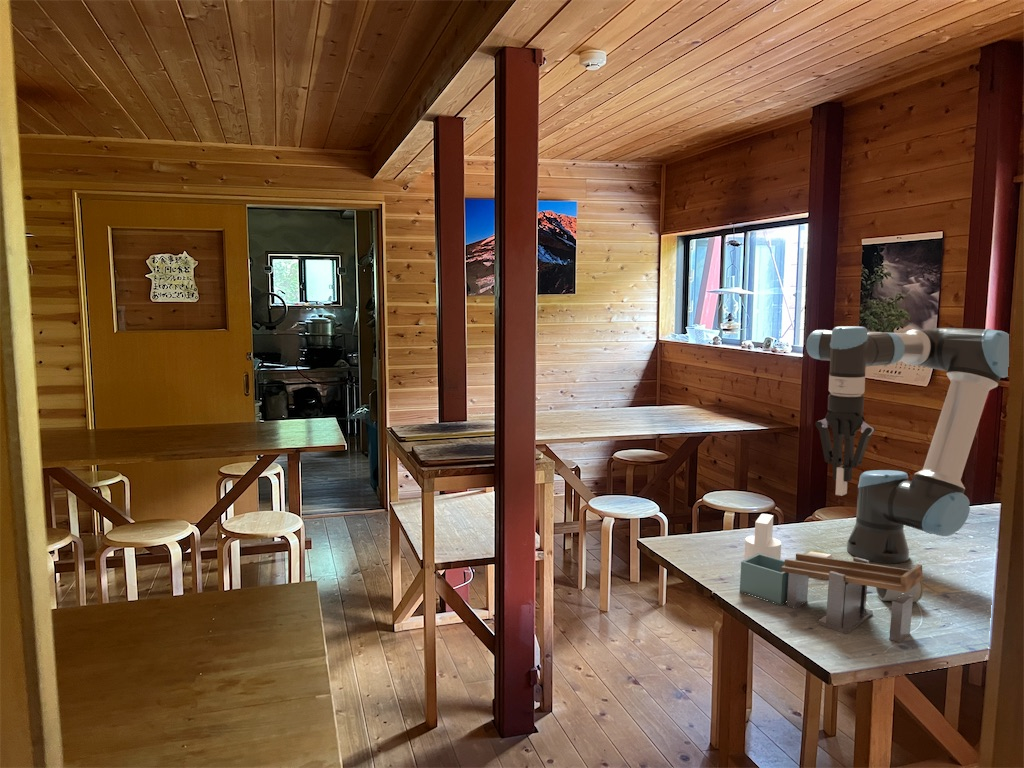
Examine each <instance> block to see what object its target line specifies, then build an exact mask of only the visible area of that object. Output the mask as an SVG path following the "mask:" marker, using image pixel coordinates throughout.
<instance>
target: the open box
mask: <svg viewBox="0 0 1024 768" xmlns="http://www.w3.org/2000/svg"><path fill="white" fill-rule="evenodd" d="M740 562H741V563H740V576H739V578H740V579H739V593H741V592H743V593H742V594H744V593H746V594H745V595H747V594H750V595H753V596H756V597H759V598H762V599H765V600H768V601H770V602H769V603H771V602H774V603H776V604H775V605H777V604H779V605H778V606H780V605H781V606H782V604H783V603H784V604H786V603H787V602H786V601H787V592H788V577H789V573H788V572H782V571H781V567H782V566H784V565H785V560H783V559H781V558H780V559H776V558H773V557H769V556H766V555H762V554H759V553H758V554H756V555H754V556H752V557H750V558H748V559H746V560H741V561H740ZM750 595H749V596H750ZM753 596H752V597H753ZM756 597H755V598H756ZM759 598H758V599H759ZM762 599H761V600H762ZM765 600H764V601H765ZM768 601H767V602H768ZM785 602H786V603H785ZM774 603H773V604H774ZM784 604H783V605H784Z"/></svg>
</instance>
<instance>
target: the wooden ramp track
mask: <svg viewBox="0 0 1024 768" xmlns="http://www.w3.org/2000/svg"><path fill="white" fill-rule="evenodd" d="M832 557H833V555H832V554H830V553H828V554H825V553H818V552H809V553H807V554H803V553H798V552H797V553H795V559H789V558H785V559H784V561H785V565H784V566H782V567H781V571H782V572H788V573H794V574H800V575H806V576H809V577H812V578H819V579H825V580H829V572H830V571H833V572H837V573H840V574H844V575H846V578H845V582H848V583H854V584H860V585H866V586H867V587H873V588H876V587H878V588H884V589H890V590H896V591H902V592H907V591H908V590H909V589H911V588H912V587H913V586H915V585H916V584H917V583H918V582H920V581H921V580H922V581H923V580H924V576H923V575H924V574H923V565H922V564H916V565H915V566H913V567H912V568H911V569H907V568H899V567H893V566H889V565H888V566H887V565H882V564H881V565H879V564H873V563H869V564H867V563H860V562H854V561H853V560H852V561H851V560H846V559H838V558H834V557H833V558H834V559H833V558H832Z"/></svg>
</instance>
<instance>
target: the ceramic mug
mask: <svg viewBox="0 0 1024 768" xmlns="http://www.w3.org/2000/svg"><path fill="white" fill-rule="evenodd" d="M923 585H924V584H923V579H922V580H921V581H920V582H918V583H917V584H916V585H915V586H913V587H912V588H911V589H909V590H908V591H907V592H902V591H896V590H890V589H884V588H878V587H875V589H876V594H877V597H878V598H879V600H880V601H884V602H885V601H886V602H892V601H893V600H894V599H895V598H897V597H898V596H899V595H901V594H902V593H905V594H909V595H912V596H913V603H917V602H919V601H920V600H921V598H922V597H923V591H924V589H923V588H924V586H923Z"/></svg>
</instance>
